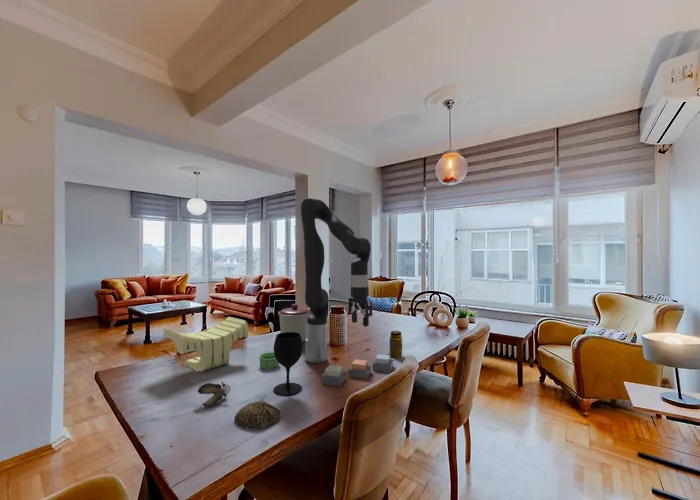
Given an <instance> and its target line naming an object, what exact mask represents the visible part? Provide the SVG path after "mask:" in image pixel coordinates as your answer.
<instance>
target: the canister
mask: <svg viewBox="0 0 700 500" xmlns="http://www.w3.org/2000/svg"><path fill="white" fill-rule="evenodd" d="M277 313H278V316H279V327H280V333H284V332H296V333H299V334H300V335H301V339H302V343H305V340H306V339H307V317H308V315H309V313H310V309H309V308H308V309H307V308H303V307H299V305H298V304H297V303H292V304H291V307H287V308H282V309H281V310H280V311H278V312H277Z"/></svg>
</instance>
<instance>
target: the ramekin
mask: <svg viewBox="0 0 700 500" xmlns="http://www.w3.org/2000/svg"><path fill="white" fill-rule="evenodd" d="M258 358H259V366H260V368H262V369H265V368H270V369H274V367H275V368H277V367H278V366H279V365H280V363H279V362H278V361H277V360H276V358H275V355H274V352H265V353H261V354H260V355H259V357H258Z"/></svg>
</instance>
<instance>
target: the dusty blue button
mask: <svg viewBox="0 0 700 500" xmlns="http://www.w3.org/2000/svg"><path fill="white" fill-rule="evenodd" d="M375 359H376V363H379V364H388V365H389V363H390V355H387V354H377V356H375Z"/></svg>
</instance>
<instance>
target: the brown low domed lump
mask: <svg viewBox="0 0 700 500" xmlns="http://www.w3.org/2000/svg"><path fill="white" fill-rule="evenodd" d="M280 415H281V410H280V409H279V408H278V407H276V406H274V405H272V404H270V403H269V402H267V401H264V400H258V401H254V402H249V403H247V404H246V405H244V406H243V407H241V408H239V409H238V411H237V413H235V416H234V422H235V423H236V424H237V425H238V426H241V427H243V426H244V427H243V428H245V427H248V428H247V429H252V428H254V429H253V430H262V429H261V428H263V429H265V428H267V427H268V426H269V425H272V424H277V423H279V422H280V420H281V417H280ZM278 421H279V422H278Z"/></svg>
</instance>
